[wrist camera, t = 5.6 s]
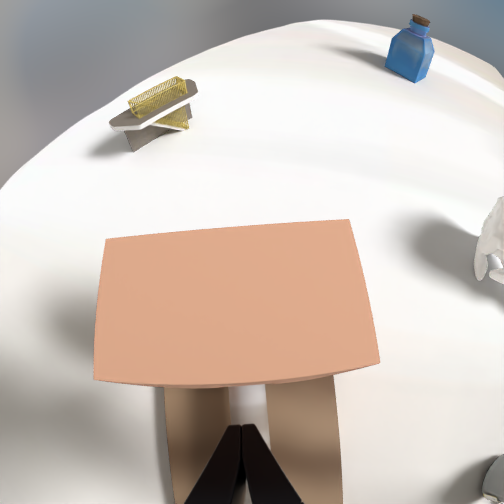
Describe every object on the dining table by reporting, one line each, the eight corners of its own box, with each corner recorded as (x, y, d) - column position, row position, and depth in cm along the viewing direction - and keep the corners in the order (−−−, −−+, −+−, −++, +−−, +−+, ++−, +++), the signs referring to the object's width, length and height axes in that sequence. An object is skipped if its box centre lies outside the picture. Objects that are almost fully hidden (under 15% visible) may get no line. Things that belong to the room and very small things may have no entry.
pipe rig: (339, 554, 11) (356, 582, 6) (191, 564, 10) (178, 594, 6) (320, 310, 20) (337, 288, 16) (167, 322, 20) (144, 302, 16)
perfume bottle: (397, 61, 40) (411, 10, 29) (425, 77, 38) (442, 26, 27) (384, 66, 38) (398, 10, 28) (414, 83, 36) (433, 26, 25)
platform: (264, 125, 30) (265, 75, 24) (121, 218, 25) (91, 171, 19) (202, 89, 34) (196, 48, 28) (83, 160, 29) (60, 120, 23)
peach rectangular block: (304, 380, 16) (380, 362, 6) (192, 388, 16) (93, 379, 6) (297, 320, 18) (349, 219, 8) (189, 328, 18) (106, 238, 8)
